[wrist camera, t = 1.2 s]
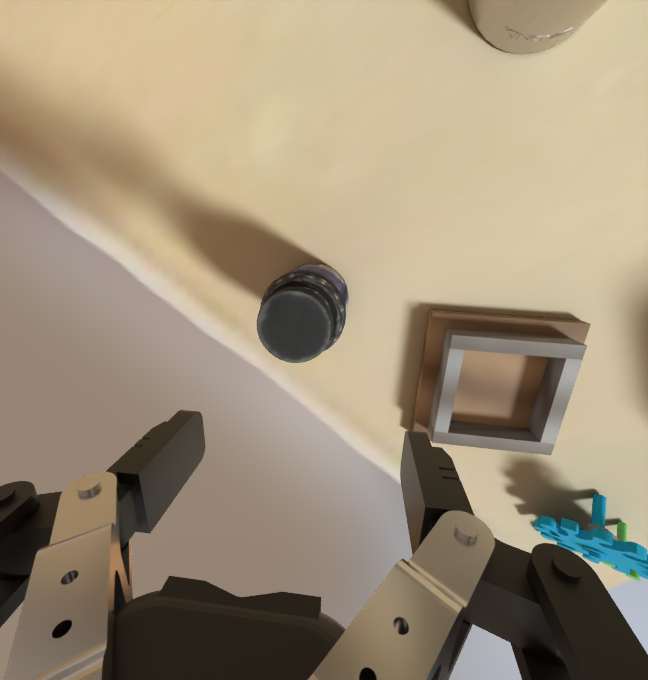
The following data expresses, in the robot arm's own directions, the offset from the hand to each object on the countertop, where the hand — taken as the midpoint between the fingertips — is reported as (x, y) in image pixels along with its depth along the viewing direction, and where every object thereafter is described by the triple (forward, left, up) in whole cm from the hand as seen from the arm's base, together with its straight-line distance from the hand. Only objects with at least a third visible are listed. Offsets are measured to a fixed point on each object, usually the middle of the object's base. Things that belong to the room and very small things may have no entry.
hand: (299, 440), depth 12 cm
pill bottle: (-2, -2, -19) cm, 19 cm away
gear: (+20, +27, -19) cm, 39 cm away
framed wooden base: (+5, +15, -19) cm, 25 cm away
